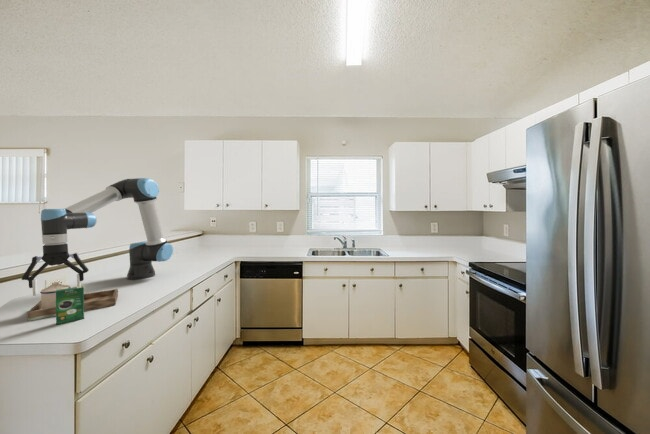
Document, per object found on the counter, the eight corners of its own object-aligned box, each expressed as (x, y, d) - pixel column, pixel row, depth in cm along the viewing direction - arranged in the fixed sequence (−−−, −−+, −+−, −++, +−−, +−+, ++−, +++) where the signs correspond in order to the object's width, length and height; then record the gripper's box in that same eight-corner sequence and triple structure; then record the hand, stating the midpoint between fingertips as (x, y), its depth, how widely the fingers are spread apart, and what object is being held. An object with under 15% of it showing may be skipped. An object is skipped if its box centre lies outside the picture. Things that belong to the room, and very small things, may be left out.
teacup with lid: (59, 312, 108) (58, 284, 107) (34, 313, 106) (33, 286, 106) (81, 301, 119) (80, 277, 119) (59, 303, 118) (58, 278, 117)
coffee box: (84, 316, 105) (83, 285, 105) (85, 318, 103) (83, 286, 103) (56, 323, 99) (54, 289, 99) (56, 325, 97) (54, 291, 97)
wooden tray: (117, 295, 131) (117, 288, 131) (115, 305, 117) (114, 297, 117) (41, 308, 115) (40, 300, 115) (27, 321, 101) (27, 312, 101)
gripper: (8, 247, 101) (11, 300, 102) (92, 242, 116) (94, 288, 117) (15, 245, 107) (18, 295, 108) (94, 240, 122) (96, 284, 123)
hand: (58, 291), depth 112 cm, fingers open, 13 cm apart
